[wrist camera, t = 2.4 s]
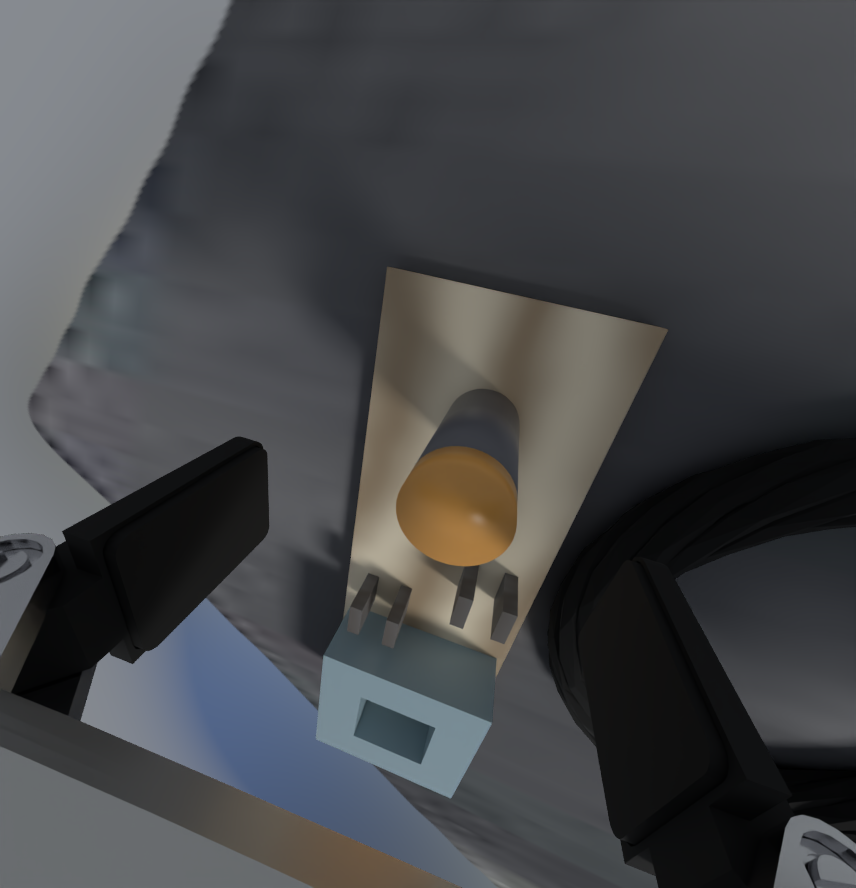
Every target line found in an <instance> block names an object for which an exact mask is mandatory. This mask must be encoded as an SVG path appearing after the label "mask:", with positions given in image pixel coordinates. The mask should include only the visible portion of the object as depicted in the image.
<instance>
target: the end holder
mask: <svg viewBox="0 0 856 888" xmlns="http://www.w3.org/2000/svg"><path fill="white" fill-rule="evenodd" d="M349 612H350V608H349V610H348V611H347V613H346V615H345V617H344V619H343V621H342V622H341V624H340V626H339V628H338V630H337V632H336V633H335V635H334V637H333V639H332V641H331V643H330V644H329V646H328V648H327V650H326V652H325V654H324V656H323V667H322V678H321V689H320V700H319V710H318V721H317V733H316V739H317V740H319V741H321V742H324V743H326V744H329V745H331V746H333V747H335V748H337V749H340V750H342V751H344V752H346V753H349V754H351V755H353V756H356V757H358V758H360V759H362V760H365V761H367V762H369V763H371V764H374V765H376V766H378V767H381V768H383V769H385V770H387V771H390V772H392V773H394V774H396V775H399V776H401V777H403V778H405V779H408V780H410V781H412V782H415V783H417V784H419V785H421V786H424V787H426V788H428V789H430V790H433V791H435V792H437V793H440V794H442V795H444V796H446V797H449V798H451V797H452V796H453V794H454V792H455V790H456V788H457V786H458V785H459V783H460V781H461V779H462V777H463V775H464V774H465V772H466V770H467V768H468V766H469V764H470V763H471V761H472V759H473V757H474V755H475V753H476V752H477V750H478V748H479V746H480V744H481V742H482V741H483V739H484V737H485V735H486V733H487V731H488V730H489V728H490V726H491V724H492V718H493V704H494V690H495V675H496V661H497V658H494V657H491V656H489V655H486V654H483V653H481V652H478V651H475V650H473V649H470V648H467V647H465V646H462V645H459V644H457V643H454V642H451V641H449V640H446V639H443V638H441V637H438V636H435V635H433V634H430V633H427V632H425V631H422V630H419V629H416V628H414V627H411V626H408V625H406V624H403V623H402V626H401V628H400V631H399V634H398V637H397V639H396V642H395V645H394V648H390V647H387V646H385V645H382V639H383V634H384V630H385V625H386V620H387V617H384V616H382V615H379V614H376V613H374V612H371V611H370V612H369V614H368V616H367V618H366V620H365V622H364V624H363V626H362V628H361V631H360V633H359V635H356V634H354V633H351V632H349V631H347V626H348V619H349Z"/></svg>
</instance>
